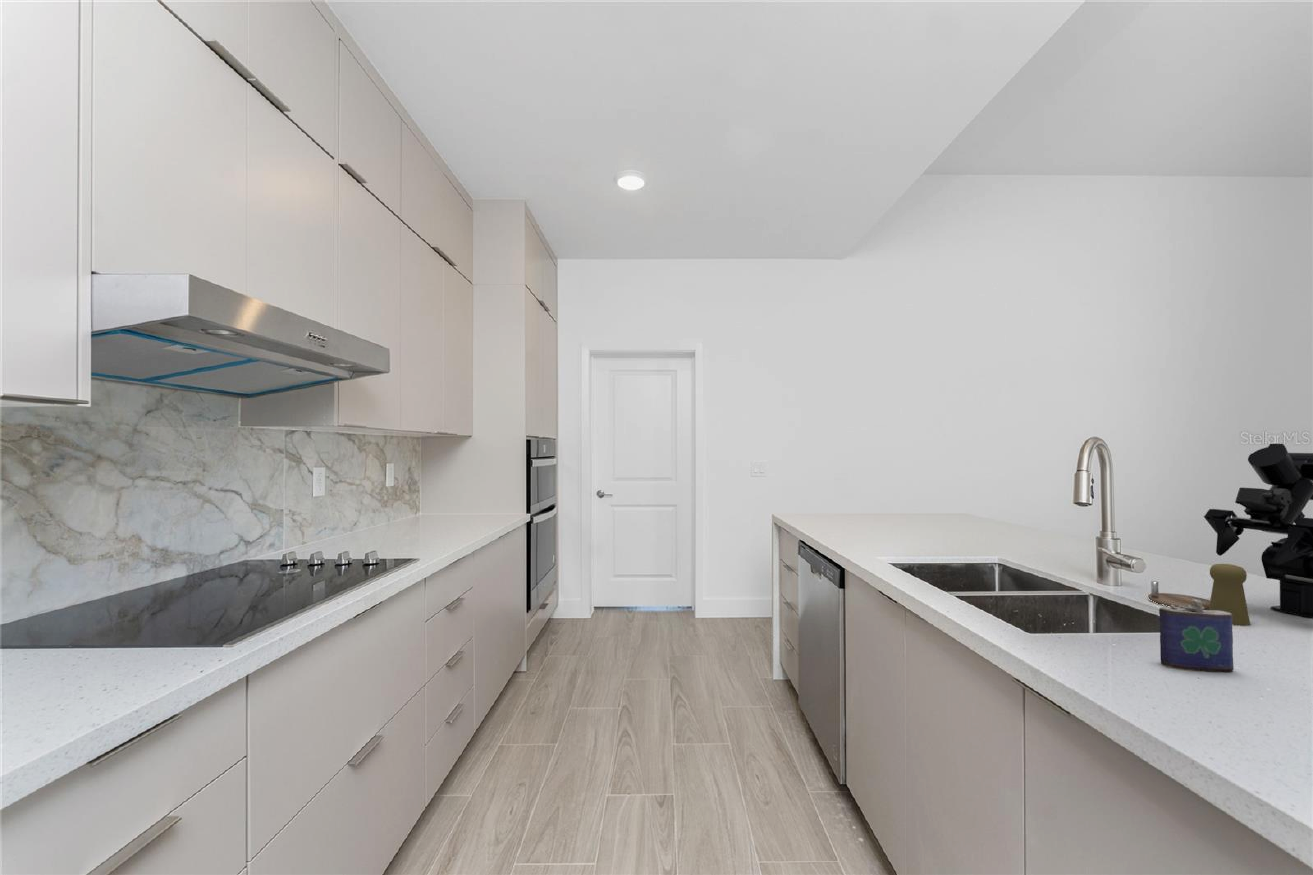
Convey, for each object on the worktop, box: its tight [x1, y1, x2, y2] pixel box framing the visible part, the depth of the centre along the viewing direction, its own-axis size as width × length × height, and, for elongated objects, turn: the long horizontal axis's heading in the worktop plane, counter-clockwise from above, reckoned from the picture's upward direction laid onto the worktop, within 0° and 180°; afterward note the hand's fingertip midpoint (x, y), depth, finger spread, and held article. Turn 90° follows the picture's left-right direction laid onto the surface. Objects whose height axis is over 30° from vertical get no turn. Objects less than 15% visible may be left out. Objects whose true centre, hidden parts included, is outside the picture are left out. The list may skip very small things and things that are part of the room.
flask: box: [1158, 599, 1234, 673], centre depth 91 cm, size 9×3×11 cm, turn 74°
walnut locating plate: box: [1147, 580, 1210, 610], centre depth 126 cm, size 11×11×4 cm
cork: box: [1209, 563, 1251, 627], centre depth 114 cm, size 6×6×11 cm
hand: (1245, 558), depth 115 cm, fingers open, 9 cm apart
